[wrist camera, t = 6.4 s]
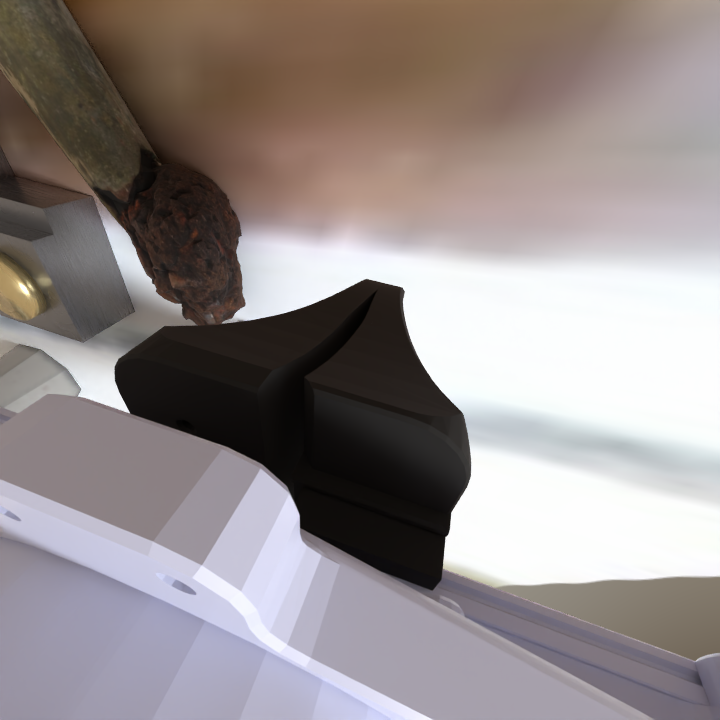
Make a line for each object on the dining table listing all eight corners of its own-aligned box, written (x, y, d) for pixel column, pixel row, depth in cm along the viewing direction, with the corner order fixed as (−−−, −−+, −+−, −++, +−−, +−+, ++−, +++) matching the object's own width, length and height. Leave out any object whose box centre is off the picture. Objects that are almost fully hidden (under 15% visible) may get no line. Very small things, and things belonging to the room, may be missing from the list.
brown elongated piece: (35, 40, 18) (-101, 20, 14) (94, -54, 15) (-58, -117, 11) (226, 310, 26) (176, 350, 22) (290, 285, 23) (247, 325, 19)
